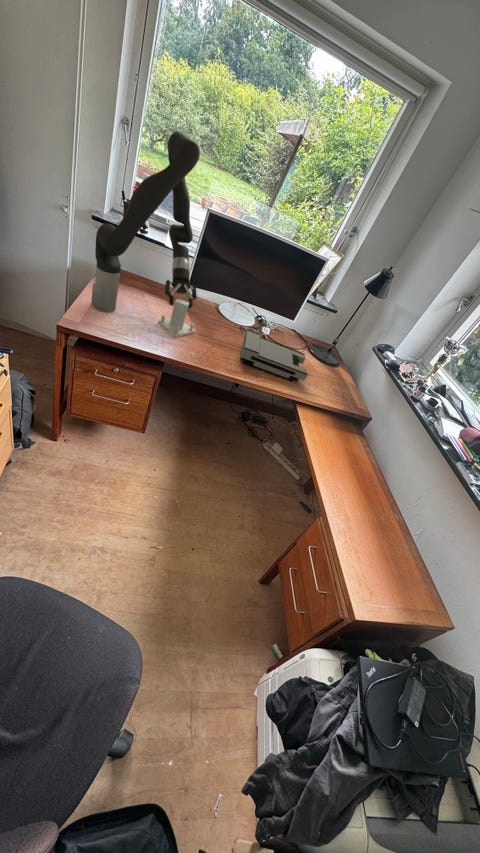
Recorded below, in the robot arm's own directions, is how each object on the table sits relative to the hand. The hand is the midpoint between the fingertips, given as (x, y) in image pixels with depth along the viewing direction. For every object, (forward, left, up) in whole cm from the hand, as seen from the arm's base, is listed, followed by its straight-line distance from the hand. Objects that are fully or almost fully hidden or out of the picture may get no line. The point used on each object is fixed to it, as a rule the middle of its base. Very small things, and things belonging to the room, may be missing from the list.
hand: (181, 306), depth 154 cm
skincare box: (0, 0, -10) cm, 10 cm away
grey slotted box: (+26, -41, -11) cm, 50 cm away
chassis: (0, -1, -11) cm, 11 cm away
